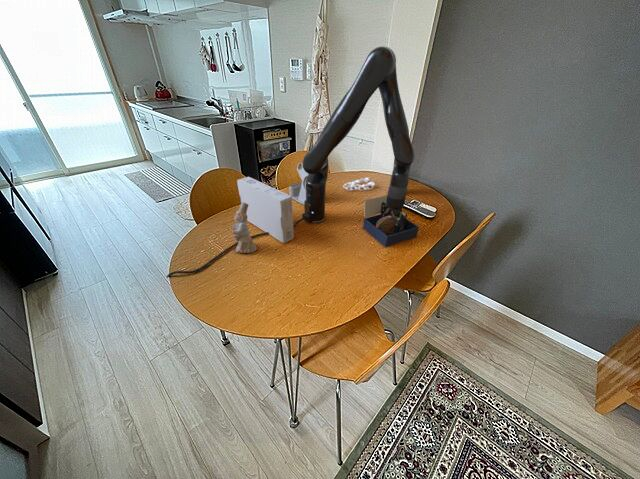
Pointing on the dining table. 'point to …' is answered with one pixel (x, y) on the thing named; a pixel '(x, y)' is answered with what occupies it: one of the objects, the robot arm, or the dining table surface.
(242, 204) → the figurine
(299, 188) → the phone holder
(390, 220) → the tin
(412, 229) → the carton
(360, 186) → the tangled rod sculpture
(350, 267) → the dining table surface
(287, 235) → the packaging
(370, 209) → the carton flap
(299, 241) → the dining table surface
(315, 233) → the dining table surface
